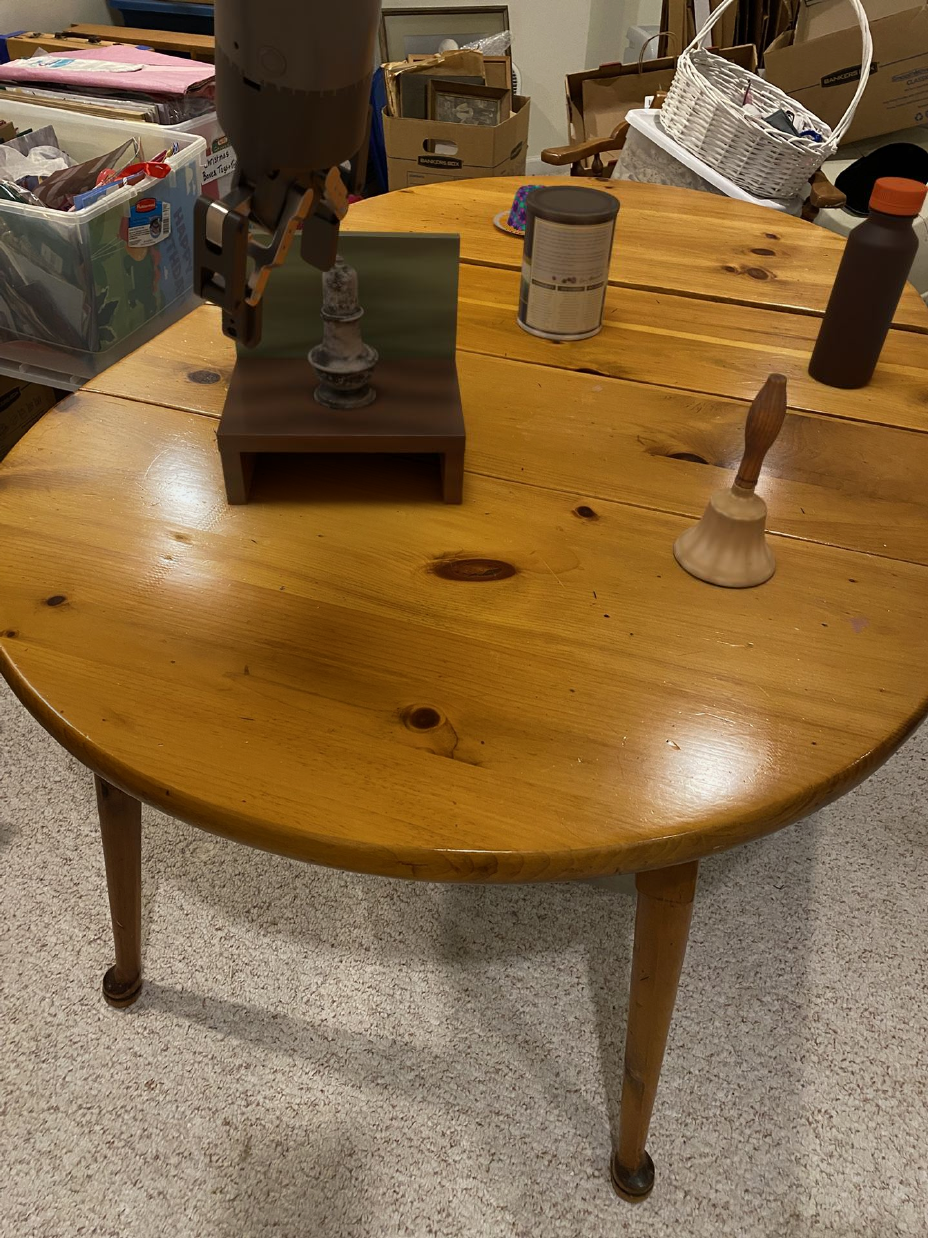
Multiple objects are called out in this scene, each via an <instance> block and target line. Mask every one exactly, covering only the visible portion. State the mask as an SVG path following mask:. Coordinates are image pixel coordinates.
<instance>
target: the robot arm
mask: <svg viewBox="0 0 928 1238" xmlns="http://www.w3.org/2000/svg"><path fill="white" fill-rule="evenodd" d="M382 7H383V0H213V19H214V23H213V25H214V26H213V27H214V28H213V29H214V31H213V34H214V95H215V98H214V99H215V100H214V101H215V105H214V106H215V115H216V119H217V122H218V124H219V127H220V129H221V131H222V132H223V134H224V136H225V137H226V139H227V141H228V143H229V144H230V146H231V148H232V150H233V152H234V155H235V157H236V160H235V163H234V164H235V165H234V170H233V174H232V177H231V180H230V181H231V182H230V188H229V189H230V191H229V192H227V194H225V195H224V196H223V197H221V198H220V199H219V200H218V199H216V198H213V197H211V196H209V195H208V194H205V193H202V194H200V195H199V196H198V197H197V198H196V200H195V202H194V204H193V212H192V215H193V217H192V218H193V220H192V221H193V222H192V223H193V224H192V227H193V229H192V230H193V231H192V232H193V233H192V234H193V235H192V236H193V237H192V247H193V248H192V250H193V252H192V253H193V255H192V257H193V258H192V260H193V261H192V262H193V263H192V265H193V266H192V267H193V268H192V270H193V271H192V272H193V273H192V274H193V275H192V276H193V277H192V278H193V279H192V285H193V286H192V289H193V290H192V292H193V294H194V295H195V296H196V297H198V298H200V299H202V300H205V301H207V302H209V303H211V304H212V305H215V306H216V307H218V308H219V309H221V332H222V335H223V336H225V337H226V338H228V339H230V340H232V341H233V342H235V341H236V342H237V343H239V344H241V345H243V346H245V347H247V348H248V349H254V348H255V347H256V346H257V345H258V344H259V343H260V342H261V338H262V311H263V297H261V296H262V293H263V291H264V288H265V285H266V283H267V280H268V277H269V275H270V272H271V270H272V269H273V268H278V267H280V266H281V265H282V264H283V263H284V260H285V257H286V255H287V252H288V249H289V247H290V244H291V242H292V239H293V236H294V234H295V231H296V230H298V228H299V226H300V225H301V230H302V236H301V249H300V255H301V258H302V259H303V260H304V261H305V262H306V263H308V264H310V265H312V266H314V267H316V268H317V269H319V270H321V271H323V272H328V271H329V270H330V269H331V268H332V267H333V266H334V265H335V262H336V254H337V245H338V237H339V231H340V228H341V221H343V220H344V219H345V217H346V216H347V215H348V212H349V207H350V202H349V200H348V199H349V198H350V196H353V197H355V198H358V197H359V196H360V195H361V194H362V192H363V190H364V189H365V183H366V174H367V165H368V158H369V157H368V156H369V148H370V139H371V128H372V119H373V112H374V111H373V109H374V107H373V105H372V104H370V98H371V91H372V85H373V84H372V83H373V76H374V70H375V62H376V53H377V47H378V45H377V44H378V40H379V39H378V38H379V30H380V25H381V24H380V23H381V16H382ZM347 161H348V162H349V164H350V165H349V168H348V167H346V166H343V165H342V164H344V163H345V162H347ZM250 223H251V225H252V226H254V227H255V229H260V230H262V231H264V232H266V233H268V234H269V235H271V236H274V238H273V241H272V243H271V245H270V246H269V247H266V246H264V245H262V244H260V243H258V242H256V241H255V240H253V239H252V233H251V232H249V229H250ZM247 255H248V256H250V257H252V258H253V259H254V261H255V266H254V268H253V271H252V274H251V277H250V279H248V278H246V266H247Z"/></svg>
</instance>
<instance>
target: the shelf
mask: <svg viewBox="0 0 928 1238" xmlns="http://www.w3.org/2000/svg"><path fill="white" fill-rule="evenodd" d="M249 232H251V233H252V239H253V240H255V241H256V242H258V243H260V244H262V245H264V246H266V247H269V246H270V245H271V243H272V241H273V238H274V236H271V235H269V234H268V233H266V232H264V231H262V230H260V229H258V228H249ZM301 236H302V229H296V231H295V234H294V236H293V239H292V242H291V244H290V247H289V249H288V252H287V255H286V257H285V260H284V263H283V264H282V265H281V266H280V267H278V268H273V269H272V270H271V272H270V275H269V277H268V280H267V283H266V285H265V288H264V291H263V293H262V296H261V297H263V311H262V338H261V342H260V343H259V344H258V345H257V346H256V347H255V348H254V349H248V348H247V347H245V346H243V345H241V344H239V343H237V342H236V341H234V346H235V354H236V359H235V363H234V366H233V371H232V373H231V377H230V381H229V385H228V388H227V392H226V396H225V400H224V404H223V408H222V411H221V415H220V418H219V423H218V425H217V430H216V434H215V435H216V443H217V449H218V450H217V451H218V452H219V454H220V461H221V468H222V475H223V482H224V487H225V488H224V489H225V495H226V501H227V505H247V504H248V499H249V495H250V494H249V493H250V489H251V484H252V479H253V473H254V468H255V463H256V459H257V453H438V455H439V456H438V457H439V467H440V477H441V479H440V480H441V489H442V490H441V491H442V499H443V500H442V501H443V504H444V505H461V504H463V494H464V493H463V491H464V474H465V473H464V471H465V453H466V447H467V444H466V442H467V434H466V425H465V419H464V411H463V404H462V397H461V389H460V383H459V376H458V369H457V361H456V360H457V359H456V358H457V334H458V330H457V329H458V310H459V309H458V307H459V283H460V281H459V280H460V279H459V278H460V257H461V234H460V233H459V232H458V233H455V232H416V231H415V232H413V231H412V232H411V231H408V232H405V231H404V232H403V231H368V230H367V231H366V230H339V237H338V245H337V254H336V256H337V255H338V253H339V254H340V255H341V256H342V258H343V260H342V263H344V264H346V265H348V266H350V267H352V268H353V269H354V270H355V272H356V273H357V277H358V306H360V307H361V308H362V309H363V315H362V316H361V317H360V334H361V338H362V342H363V343H364V344H366V345H369V346H371V347H372V348H374V349H375V350H376V351H377V353H378V357H379V359H378V361H377V363H376V364H375V369H374V372H373V374H372V376H371V379H370V380H369V381H368V382H367V384H369V385H370V386H372V387H373V388H374V390H375V392H376V397H375V399H374V400H373V401H372V402H371V403H370V404H368V405H366V406H364V407H361V408H357V409H349V410H340V409H333V408H329V407H326V406H323V405H321V404H320V403H318V402H317V401H316V399H315V398H314V392H315V390H316V388H317V387H319V386H320V385H321V384H323V383H322V382H320V381H319V380H318V378H317V377H316V375H315V373H314V371H313V366H312V365H311V364H310V362H309V360H308V354H309V352H310V351H311V350H312V349H313V348H314V347H316V346H318V345H320V344H322V343H323V339H324V320H323V317H321V316H320V314H319V310H320V309H321V307H323V306H324V303H323V285H322V275H323V271H321V270H319V269H317V268H316V267H314V266H312V265H310V264H308V263H306V262H305V261H304V260H303V259H302V258H301V255H300V249H301ZM335 263H336V262H335ZM254 266H255V261H254V259H253V258H252V257H250V256H248V255H247V266H246V278H248V279H250V277H251V274H252V271H253V268H254Z"/></svg>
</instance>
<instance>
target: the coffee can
mask: <svg viewBox="0 0 928 1238" xmlns="http://www.w3.org/2000/svg"><path fill="white" fill-rule="evenodd" d="M526 205H527V208H526V221H525V234H524V235H523V236H524V237H523V246H522V247H523V248H522V259H521V271H520V285H519V297H518V298H519V299H518V309H517V317H516V322H517V324H518V326H519V327H520V328H521V329H522V330H523V331H524V332H526V333H528V334H531V335H532V336H535V337H538V338H542V339H546V340H552V341H565V342H571V341H580V340H584V339H589V338H592V337H594V336H595V335H597V334H598V333H600V332H601V330H602V328H603V317H604V310H605V304H606V296H607V289H608V283H609V282H608V281H609V277H610V276H609V275H610V270H611V269H610V268H611V261H612V255H613V246H614V241H615V234H616V227H617V220H618V214H619V212H620V209H621V202H620V200H619V198H617V197H616V196H615V195H613V194H611V193H609V192H606V191H603V190H599V189H597V188H593V187H588V186H581V185H566V184H565V185H560V184H559V185H548V186H546V187H542V188H538V189H535V190H533V191H531V192H529V193H528V194H527V196H526Z"/></svg>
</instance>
